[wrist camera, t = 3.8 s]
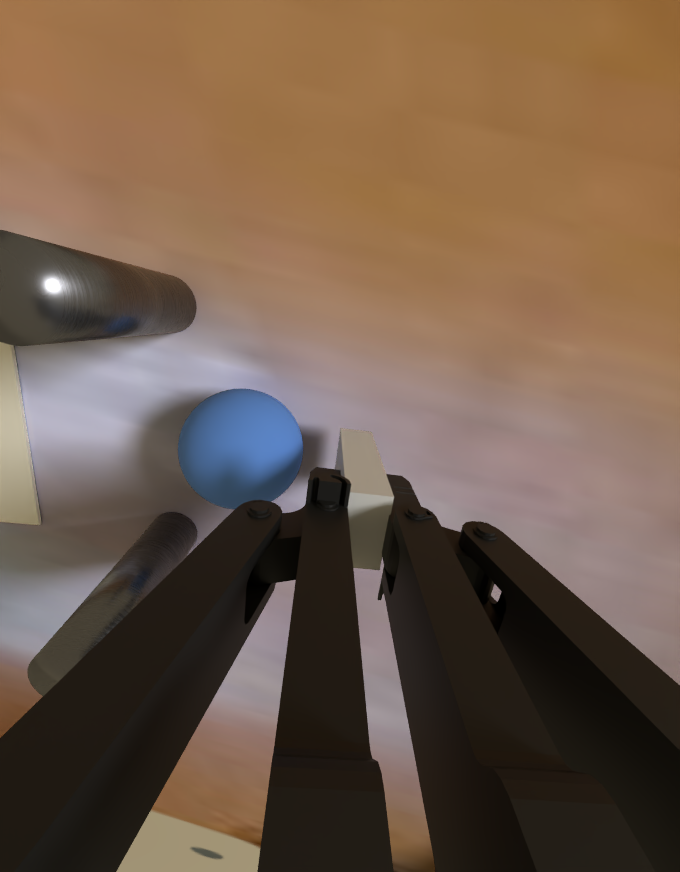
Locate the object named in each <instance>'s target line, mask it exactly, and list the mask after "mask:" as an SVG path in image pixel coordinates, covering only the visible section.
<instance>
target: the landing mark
mask: <svg viewBox="0 0 680 872" xmlns="http://www.w3.org/2000/svg"><path fill="white" fill-rule="evenodd" d="M0 522H7V523H18V524H30V525H40V524H42V522H41V516H40V509H39V503H38V497H37V490H36V484H35V477H34V471H33V465H32V458H31V452H30V445H29V439H28V432H27V426H26V420H25V413H24V407H23V400H22V394H21V388H20V381H19V375H18V368H17V362H16V356H15V349H14V345H9V344H6V343H2V342H0Z"/></svg>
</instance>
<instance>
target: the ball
mask: <svg viewBox="0 0 680 872" xmlns="http://www.w3.org/2000/svg"><path fill="white" fill-rule="evenodd" d="M178 456H179V463H180V466H181V470H182V472H183V474H184V476H185V478H186V480H187V482H188V483H189V484H190V486H191V487H192V488H193V489H194V490H195V491H196V492H197V493H198V494H199V495H200V496H201V497H203V498H204V499H206V500H207V501H209V502H211V503H213V504H215V505H218V506H221V507H224V508H229V509H236V508H237V507H238V506H240V505H241V504H243V503H245V502H248V501H252V500H264V501H270V502H271V501H273V500H274V499H276V498H277V497H279V496H280V495H281V494H282V493H283V492H285V491H286V490H287V489H288V487H289V486H290V485H291V484H292V482H293V481H294V479H295V477H296V476H297V474H298V471H299V468H300V466H301V462H302V456H303V440H302V435H301V432H300V429H299V426H298V424H297V422H296V420H295V418H294V417H293V415H292V414H291V412H290V411H289V410H288V409H287V408H286V407H285V406H284V405H283V404H282V403H281V402H279V401H278V400H277V399H275V398H273V397H271V396H270V395H268V394H265V393H263V392H260V391H255V390H251V389H232V390H226V391H223V392H220V393H217V394H215V395H213V396H210V397H209V398H207V399H206V400H204V401H203V402H201V403H200V404H199V405H198V406H197V407H196V408H195V409H194V410H193V411H192V412H191V414H190V415H189V416H188V418H187V419H186V421H185V423H184V425H183V428H182V430H181V433H180V437H179V443H178Z"/></svg>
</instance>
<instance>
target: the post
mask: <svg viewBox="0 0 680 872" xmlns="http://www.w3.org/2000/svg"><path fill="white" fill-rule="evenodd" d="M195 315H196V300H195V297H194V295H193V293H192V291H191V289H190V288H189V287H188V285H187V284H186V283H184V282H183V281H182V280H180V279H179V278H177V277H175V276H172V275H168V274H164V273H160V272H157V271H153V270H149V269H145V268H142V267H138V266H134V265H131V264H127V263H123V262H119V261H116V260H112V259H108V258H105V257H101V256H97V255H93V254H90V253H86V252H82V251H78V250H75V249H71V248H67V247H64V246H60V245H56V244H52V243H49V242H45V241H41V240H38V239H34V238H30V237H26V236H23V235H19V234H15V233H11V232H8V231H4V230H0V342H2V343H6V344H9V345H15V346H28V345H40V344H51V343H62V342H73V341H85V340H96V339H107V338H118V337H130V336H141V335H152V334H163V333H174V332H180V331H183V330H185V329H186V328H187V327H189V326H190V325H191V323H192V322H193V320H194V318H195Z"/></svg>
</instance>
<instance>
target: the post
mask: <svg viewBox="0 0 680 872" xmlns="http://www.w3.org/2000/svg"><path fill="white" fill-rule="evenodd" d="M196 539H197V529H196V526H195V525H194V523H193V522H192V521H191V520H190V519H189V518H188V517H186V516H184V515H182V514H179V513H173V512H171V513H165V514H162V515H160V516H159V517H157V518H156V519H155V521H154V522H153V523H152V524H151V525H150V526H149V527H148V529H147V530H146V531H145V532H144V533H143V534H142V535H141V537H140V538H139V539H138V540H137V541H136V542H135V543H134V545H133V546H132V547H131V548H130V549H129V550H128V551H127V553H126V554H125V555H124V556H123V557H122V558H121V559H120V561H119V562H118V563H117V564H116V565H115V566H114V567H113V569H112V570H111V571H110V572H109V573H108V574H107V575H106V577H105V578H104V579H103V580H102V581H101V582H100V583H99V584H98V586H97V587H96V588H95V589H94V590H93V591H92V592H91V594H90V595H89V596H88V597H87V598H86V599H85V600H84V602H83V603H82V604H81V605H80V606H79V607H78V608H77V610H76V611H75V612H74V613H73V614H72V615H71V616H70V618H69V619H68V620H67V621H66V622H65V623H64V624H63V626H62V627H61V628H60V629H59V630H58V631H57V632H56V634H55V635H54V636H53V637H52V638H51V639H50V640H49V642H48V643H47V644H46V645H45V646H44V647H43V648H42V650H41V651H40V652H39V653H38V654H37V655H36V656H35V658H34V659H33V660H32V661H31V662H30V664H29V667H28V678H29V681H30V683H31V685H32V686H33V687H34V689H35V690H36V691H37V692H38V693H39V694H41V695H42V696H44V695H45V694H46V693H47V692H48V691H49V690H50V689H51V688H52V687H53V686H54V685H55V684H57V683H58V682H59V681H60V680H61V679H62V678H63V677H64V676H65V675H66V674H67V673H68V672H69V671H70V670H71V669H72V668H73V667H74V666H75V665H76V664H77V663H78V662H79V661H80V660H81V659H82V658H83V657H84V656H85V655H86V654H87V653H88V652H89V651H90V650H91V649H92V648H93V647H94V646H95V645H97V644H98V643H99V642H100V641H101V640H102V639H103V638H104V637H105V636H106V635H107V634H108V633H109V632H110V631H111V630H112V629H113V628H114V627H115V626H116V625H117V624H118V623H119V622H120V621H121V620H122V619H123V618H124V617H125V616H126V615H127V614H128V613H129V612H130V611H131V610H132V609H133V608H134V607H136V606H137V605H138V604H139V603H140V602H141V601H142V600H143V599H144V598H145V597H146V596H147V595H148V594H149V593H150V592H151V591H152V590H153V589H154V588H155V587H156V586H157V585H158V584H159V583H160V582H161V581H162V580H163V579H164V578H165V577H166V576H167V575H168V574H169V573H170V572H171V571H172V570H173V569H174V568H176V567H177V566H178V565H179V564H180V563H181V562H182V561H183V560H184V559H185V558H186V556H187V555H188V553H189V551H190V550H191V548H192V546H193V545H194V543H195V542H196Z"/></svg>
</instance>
